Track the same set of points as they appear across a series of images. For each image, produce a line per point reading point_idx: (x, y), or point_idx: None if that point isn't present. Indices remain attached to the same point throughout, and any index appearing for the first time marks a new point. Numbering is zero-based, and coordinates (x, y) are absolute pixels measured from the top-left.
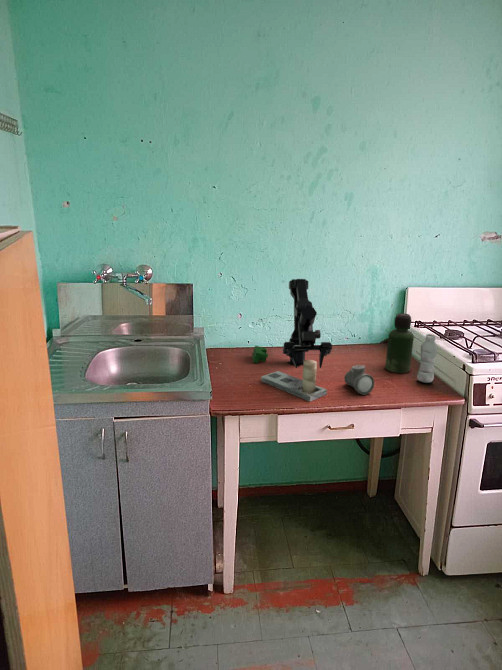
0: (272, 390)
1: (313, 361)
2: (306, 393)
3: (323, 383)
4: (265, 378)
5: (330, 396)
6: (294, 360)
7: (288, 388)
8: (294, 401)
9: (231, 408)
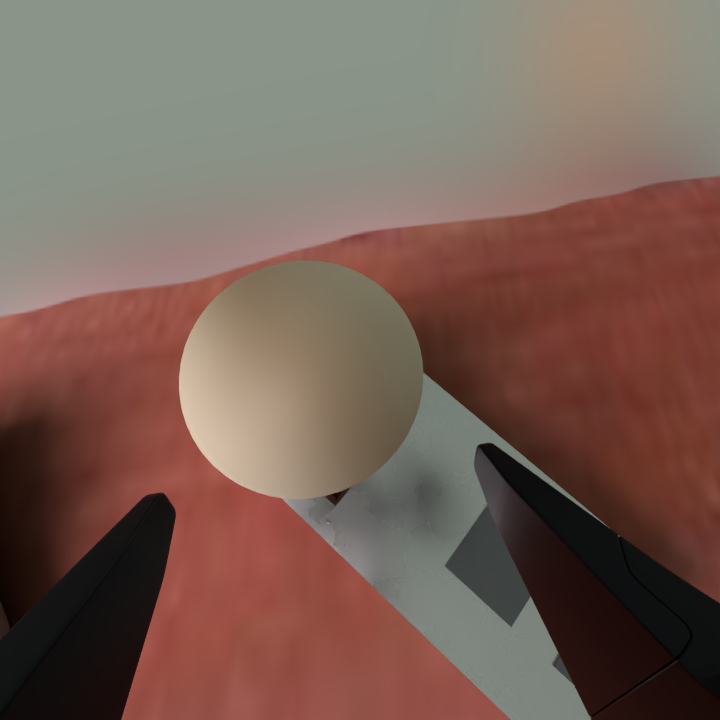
0: (556, 434)
1: (237, 418)
2: None
3: (207, 634)
4: None
5: None
6: (580, 507)
7: (467, 411)
8: (411, 297)
9: (695, 191)
